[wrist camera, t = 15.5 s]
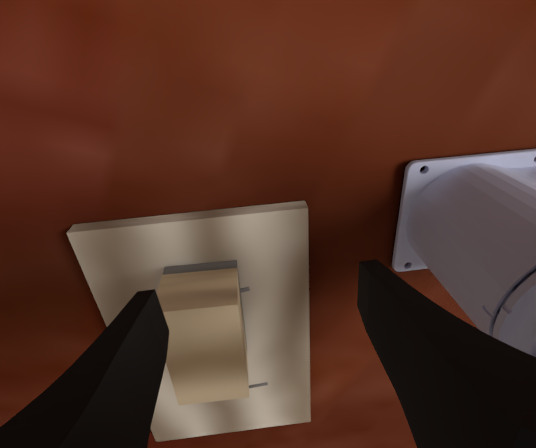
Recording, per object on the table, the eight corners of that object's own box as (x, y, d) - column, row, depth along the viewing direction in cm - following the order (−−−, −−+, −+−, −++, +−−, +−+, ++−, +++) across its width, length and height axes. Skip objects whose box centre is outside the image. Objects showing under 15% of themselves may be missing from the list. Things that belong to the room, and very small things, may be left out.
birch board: (305, 200, 21) (308, 208, 20) (308, 410, 32) (310, 422, 31) (73, 224, 20) (65, 233, 19) (158, 430, 31) (156, 442, 30)
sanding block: (164, 266, 21) (151, 313, 18) (237, 260, 21) (237, 304, 18) (186, 353, 25) (178, 405, 21) (246, 347, 25) (249, 397, 22)
